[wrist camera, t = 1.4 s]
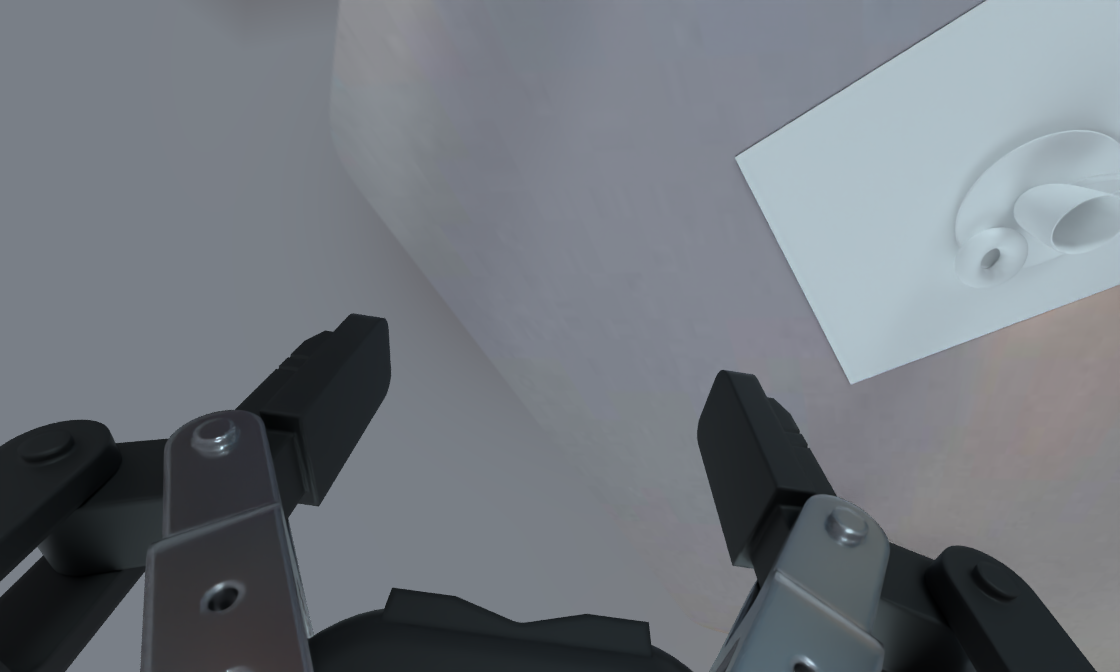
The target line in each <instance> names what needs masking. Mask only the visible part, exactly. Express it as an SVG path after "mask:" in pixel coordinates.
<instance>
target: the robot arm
mask: <svg viewBox="0 0 1120 672" xmlns="http://www.w3.org/2000/svg"><path fill="white" fill-rule="evenodd" d="M390 379H391V364H390V346H389V329H388V323H387V321H386V319H385V318H380V317H373V316H366V315H359V314H350V315H349V316H348V317H347V318H346V319H345V320H344V321H343V322H342V323H341V324H340V325H339V327H338V328H337V329H336V330H335V331H334V332H331V331H324V332H321V333H320V334H318V335H315V336H313V337H312V338H309V339H308V340H306V341H304V342H303V343H302V344H301V345H300V346H299V347H298V348H297V349H296V350H295V351H294V352H293V353H292V354H291V357H290V358H289V357H288V358H287V359H286V360H285V361H284V362H283V363H282V364H281V365H280V366H279V369H276V370H275V371H274V372H273V373H272V374H271V375H270V376H269V377H268V378H267V379H266V380H265V381H264V382H263V383H261V384H260V385H259V386H258V388H257V389H255V390H254V392H252V393H251V394H250V395H249V396H248V397H247V398H246V399H245V400H244V401H243V402H242V403H241V404H240V405H239V406H238V407H237V408H236V409H235V410H225V411H218V412H214V413H210V414H206V415H204V416H201V417H198V418H196V419H194V420H192V421H190V422H188V423H186V424H185V425H183V426H182V427H180V428H179V429H178V430H177V431H175V433H173V434H172V435H171V436H170V438H169V439H159V440H148V441H136V442H125V443H115V441H114V439H113V437H112V435H111V433H110V431H109V429H108V428H107V427H106V426H105V425H104V424H102V423H99V422H97V421H91V420H70V421H63V422H58V423H53V424H49V425H46V426H42V427H39V428H36V429H33V430H30V431H28V432H26V433H24V434H22V435H19V436H17V437H15V438H13V439H11V440H10V441H8V442H6V443H5V444H3V445H2V446H0V581H1V580H2V579H3V578H5V577H6V576H7V575H8V574H9V573H10V572H11V571H12V570H13V569H14V568H15V567H16V566H17V565H18V564H19V563H20V562H21V561H22V560H23V559H25V557H27V556H28V555H29V554H30V553H31V552H32V551H33V550H34V549H35V548H36V547H38V548H39V550H40V551H41V552H42V554H43V556H42V557H41V558H40V559H39V560H38V561H37V562H36V563H35V564H34V565H33V566H32V567H31V568H30V569H29V570H28V571H27V572H26V573H25V574H24V575H23V576H22V577H21V578H20V579H19V580H18V581H17V582H16V583H15V584H14V585H12V587H10V588H9V590H7V591H6V592H5V593H4V594H3V595H2V596H1V597H0V672H65V671H66V670H67V668H68V667H69V666H70V665H71V664H72V662H73V661H74V659H76V657H77V656H78V655H79V653H80V652H81V651H82V650H83V648H84V647H85V646H86V645H87V643H88V642H89V641H90V640H91V638H92V637H93V636H94V635H95V633H96V632H97V631H98V629H99V628H100V627H101V626H102V625H103V623H104V622H105V621H106V620H107V618H108V617H109V616H110V615H111V613H112V612H113V611H114V610H115V608H116V607H117V606H118V604H119V603H120V602H121V601H122V599H123V598H124V597H125V596H126V594H127V593H128V592H129V591H130V589H131V588H132V587H133V586H134V584H135V583H136V582H137V581H138V579H139V578H140V577H141V576H142V574H143V573H144V572H145V589H144V610H143V628H142V629H143V630H142V649H141V669H140V672H692V671H691V670H690V669H689V668H688V667H687V666H685V665H684V664H682V663H681V662H680V661H679V660H677V659H676V658H675V657H673V656H671V655H669V654H668V653H666V652H664V651H663V650H661V649H659V648H657V647H655V646H653V645H651V639H650V631H649V622H643V621H635V620H627V619H620V618H612V617H606V616H598V615H591V614H583V615H576V616H568V617H561V618H555V619H548V620H541V621H534V622H527V623H519V622H515V621H512V620H510V619H507V618H505V617H503V616H500V615H498V614H496V613H493V612H491V611H488V610H487V609H484V608H482V607H479V606H477V605H475V604H473V603H470V602H468V601H466V600H463V599H461V598H459V597H456V596H450V595H442V594H435V593H427V592H420V591H413V590H406V589H398V588H392V590H391V592H390V595H389V598H388V600H387V603H386V606H385V608H384V609H380V610H374V611H370V612H366V613H362V614H358V615H355V616H353V617H350V618H348V619H345V620H342V621H340V622H338V623H336V624H334V625H332V626H330V627H328V628H326V629H324V630H322V631H321V632H319V633H317V634H316V635H314V633H313V628H312V625H311V620H310V616H309V611H308V607H307V604H306V598H305V593H304V589H303V584H302V580H301V575H300V571H299V565H298V561H297V556H296V551H295V547H294V542H293V537H292V533H291V528H290V524H289V520H288V517H289V516H290V514H291V513H292V511H293V510H294V508H295V507H296V505H297V504H305V505H313V506H319V505H320V504H321V502H322V501H323V499H324V497H325V496H326V494H327V492H328V491H329V489H330V487H331V486H332V484H333V482H334V481H335V479H336V477H337V476H338V474H339V472H340V471H341V469H342V467H343V466H344V464H345V462H346V461H347V459H348V457H349V456H350V454H351V453H352V451H353V449H354V448H355V446H356V444H357V443H358V441H359V439H360V438H361V436H362V434H363V433H364V431H365V429H366V428H367V426H368V424H369V423H370V421H371V419H372V418H373V416H374V415H375V413H376V411H377V410H378V408H379V406H380V405H381V403H382V401H383V400H384V398H385V396H386V394H387V391H388V388H389V384H390ZM799 432H800V430H799V429H798V427H797V425H796V423H795V421H794V420H793V418H792V416H791V414H790V413H789V412H788V411H786V410H785V409H784V408H783V407H782V406H781V405H780V404H779V403H778V402H777V401H776V400H775V399H774V398H768V397H767V396H766V395H765V393H764V391H763V389H762V387H761V385H760V383H759V381H758V379H757V378H756V376H755V375H753V374H746V373H740V372H733V371H726V370H721V371H720V372H719V373H718V374H717V376H716V378H715V381H714V383H713V386H712V388H711V391H710V393H709V396H708V398H707V401H706V404H705V406H704V409H703V411H702V414H701V416H700V419H699V423H698V430H697V439H698V445H699V448H700V452H701V456H702V459H703V463H704V466H705V470H706V473H707V477H708V480H709V484H710V487H711V491H712V494H713V498H714V502H715V505H716V509H717V512H718V516H719V519H720V523H721V526H722V530H723V533H724V537H725V540H726V544H727V548H728V551H729V555H730V558H731V562H732V565H733V566H739V567H746V568H753V569H754V570H755V573H756V576H757V581H756V582H755V584H754V585H753V587H752V589H751V591H750V593H749V595H748V596H747V598H746V600H745V602H744V604H743V606H742V608H741V610H740V612H739V614H738V616H737V618H736V620H735V622H734V624H733V626H732V628H731V630H730V632H729V634H728V637H727V638H726V640H725V642H724V644H723V646H722V648H721V650H720V652H719V654H718V656H717V658H716V660H715V662H714V663H713V665H712V667H711V669H710V671H709V672H1097V671H1096V670H1095V669H1094V668H1093V666H1092V665H1091V664H1090V663H1089V661H1088V660H1087V659H1086V657H1085V656H1084V655H1083V654H1082V652H1081V651H1080V650H1079V648H1078V647H1077V646H1076V645H1075V643H1074V642H1073V641H1072V639H1071V638H1070V637H1069V636H1068V634H1067V633H1066V632H1065V631H1064V629H1063V628H1062V627H1061V625H1060V624H1059V623H1058V622H1057V620H1056V619H1055V618H1054V616H1053V615H1052V614H1051V613H1050V611H1049V610H1048V609H1047V608H1046V606H1045V605H1044V604H1043V602H1042V601H1041V600H1040V599H1039V597H1038V596H1037V595H1036V593H1035V592H1034V591H1033V590H1032V589H1031V588H1030V586H1029V585H1028V584H1027V583H1026V582H1025V581H1024V580H1023V579H1022V578H1021V577H1019V576H1018V575H1017V574H1016V573H1015V572H1014V571H1012V570H1011V569H1010V568H1008V567H1007V566H1006V565H1004V564H1003V563H1001V562H999V561H998V560H996V559H995V558H993V557H991V556H989V555H987V554H985V553H983V552H981V551H978V550H976V549H973V548H969V547H965V546H951V547H948V548H946V549H945V550H944V551H943V552H942V553H941V554H940V555H939V556H938V557H937V558H936V560H933V559H930V558H928V557H925V556H923V555H920V554H918V553H915V552H913V551H910V550H908V549H905V548H903V547H900V546H897V545H895V544H892V543H890V542H889V541H888V538H887V536H886V534H885V533H884V531H883V529H882V528H881V527H880V526H879V524H878V523H877V522H876V521H875V520H874V519H873V518H872V517H871V516H870V515H869V514H867V513H866V512H865V511H864V510H862V509H861V508H859V507H858V506H856V505H855V504H853V503H851V502H849V501H847V500H845V499H842V498H840V497H837V496H836V494H835V492H834V490H833V489H832V487H831V485H830V483H829V482H828V480H827V478H826V476H825V474H824V473H823V471H822V469H821V467H820V466H819V464H818V462H817V460H816V459H815V457H814V455H813V453H812V452H811V450H810V448H807V445H808V444H807V443H806V441H805V439H804V437H803V436H802V434H799Z"/></svg>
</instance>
